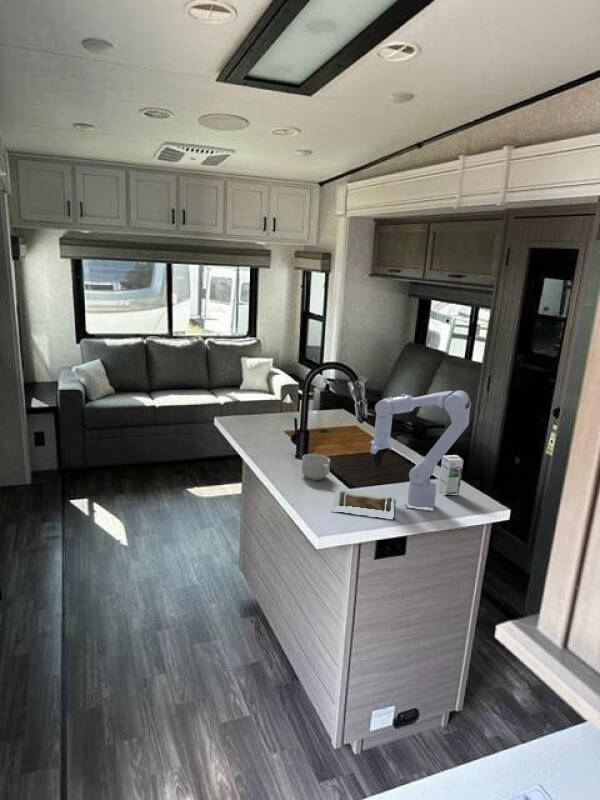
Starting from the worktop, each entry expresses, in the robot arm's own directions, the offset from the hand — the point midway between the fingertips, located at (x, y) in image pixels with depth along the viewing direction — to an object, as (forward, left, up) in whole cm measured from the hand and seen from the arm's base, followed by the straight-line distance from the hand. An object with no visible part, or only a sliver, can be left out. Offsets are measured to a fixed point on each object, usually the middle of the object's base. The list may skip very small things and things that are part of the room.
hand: (378, 467), depth 202 cm
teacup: (+23, -7, -11) cm, 26 cm away
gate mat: (+4, +11, -10) cm, 16 cm away
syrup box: (-27, -10, -11) cm, 31 cm away
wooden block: (+3, +15, -9) cm, 18 cm away
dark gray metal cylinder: (+3, +15, -10) cm, 19 cm away
